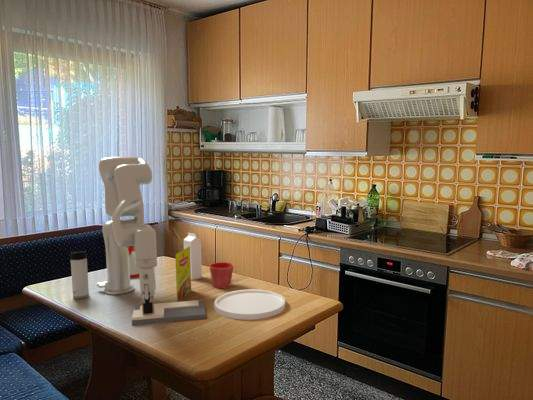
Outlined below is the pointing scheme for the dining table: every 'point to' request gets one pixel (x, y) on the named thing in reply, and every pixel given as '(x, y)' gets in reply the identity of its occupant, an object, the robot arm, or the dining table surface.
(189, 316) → the mat
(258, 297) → the plate
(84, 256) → the travel mug
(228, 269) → the flower pot
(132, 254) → the kitchen timer
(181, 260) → the food package
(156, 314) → the cream and peach block
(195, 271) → the milk
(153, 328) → the dining table surface
